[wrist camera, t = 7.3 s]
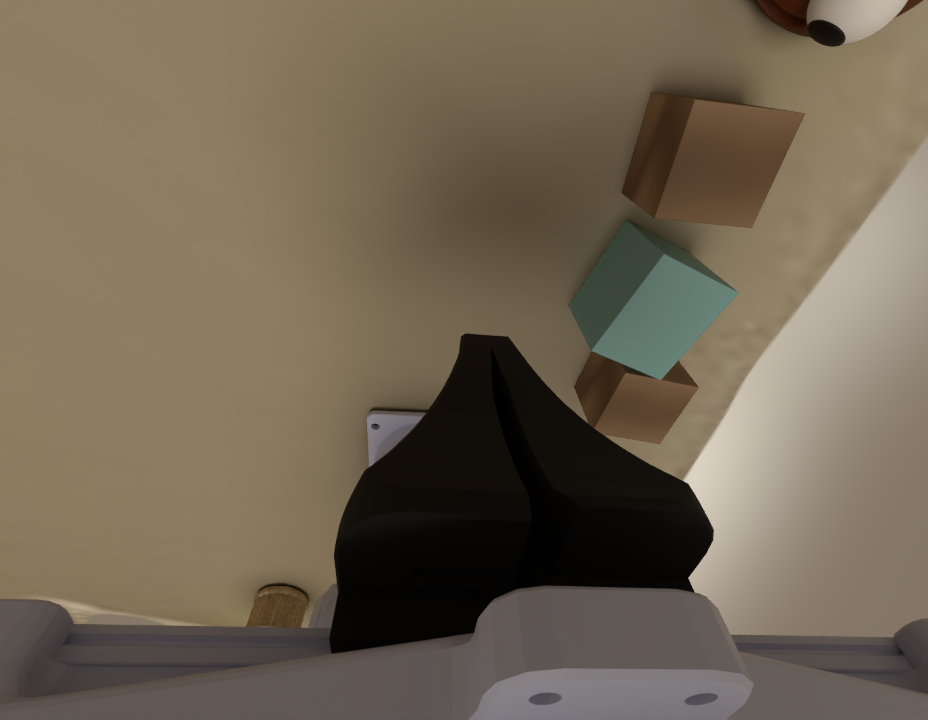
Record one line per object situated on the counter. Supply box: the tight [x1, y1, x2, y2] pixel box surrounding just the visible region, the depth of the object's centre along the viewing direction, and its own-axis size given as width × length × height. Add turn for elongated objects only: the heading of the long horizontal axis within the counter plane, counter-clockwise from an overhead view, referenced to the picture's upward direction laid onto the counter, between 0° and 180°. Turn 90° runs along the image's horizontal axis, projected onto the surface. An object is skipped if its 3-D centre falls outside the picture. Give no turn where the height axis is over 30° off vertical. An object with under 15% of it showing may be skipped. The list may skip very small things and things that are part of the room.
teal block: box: [569, 220, 738, 380], centre depth 21 cm, size 5×4×4 cm
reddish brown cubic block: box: [574, 351, 699, 444], centre depth 24 cm, size 4×4×4 cm
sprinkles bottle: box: [246, 586, 308, 628], centre depth 33 cm, size 5×5×14 cm
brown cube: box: [622, 92, 805, 228], centre depth 18 cm, size 4×4×4 cm
